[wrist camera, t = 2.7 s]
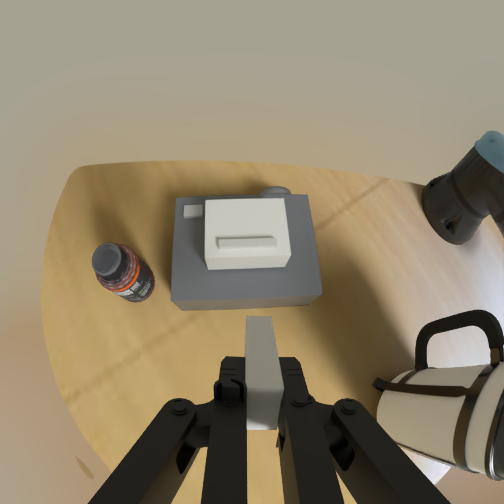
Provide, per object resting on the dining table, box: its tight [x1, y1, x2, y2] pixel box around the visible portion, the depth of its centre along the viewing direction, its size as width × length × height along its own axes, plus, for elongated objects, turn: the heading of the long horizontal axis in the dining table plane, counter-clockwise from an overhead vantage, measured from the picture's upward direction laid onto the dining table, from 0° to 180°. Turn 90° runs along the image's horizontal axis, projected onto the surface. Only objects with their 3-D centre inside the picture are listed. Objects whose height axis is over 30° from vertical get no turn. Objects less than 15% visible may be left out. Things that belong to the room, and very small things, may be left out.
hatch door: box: [205, 198, 291, 270], centre depth 31 cm, size 9×7×5 cm
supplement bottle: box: [92, 243, 155, 302], centre depth 33 cm, size 6×6×11 cm
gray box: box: [171, 186, 323, 311], centre depth 37 cm, size 18×16×8 cm
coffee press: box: [372, 310, 504, 481], centre depth 19 cm, size 17×16×30 cm
